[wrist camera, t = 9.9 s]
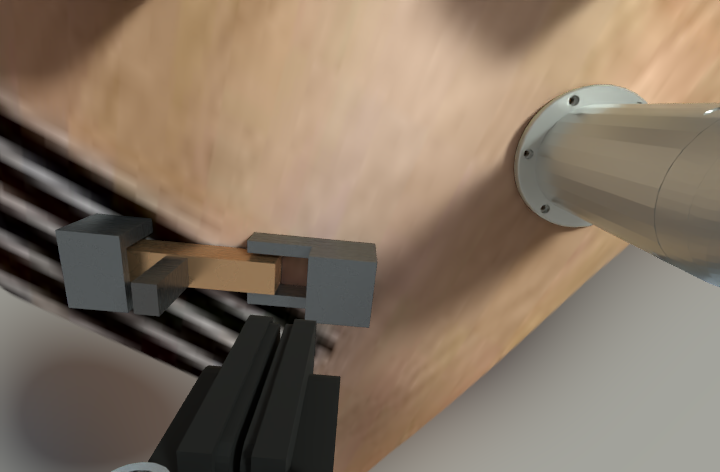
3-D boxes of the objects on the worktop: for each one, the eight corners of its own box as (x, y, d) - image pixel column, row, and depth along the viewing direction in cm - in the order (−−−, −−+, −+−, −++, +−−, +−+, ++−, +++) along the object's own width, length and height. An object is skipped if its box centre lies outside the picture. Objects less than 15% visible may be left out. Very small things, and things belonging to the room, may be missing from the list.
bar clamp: (375, 240, 37) (377, 260, 32) (367, 305, 40) (368, 333, 35) (96, 213, 36) (55, 230, 32) (105, 282, 39) (68, 307, 34)
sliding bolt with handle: (281, 252, 37) (259, 291, 29) (280, 281, 38) (259, 327, 30) (119, 236, 37) (51, 273, 29) (122, 266, 38) (58, 309, 30)
